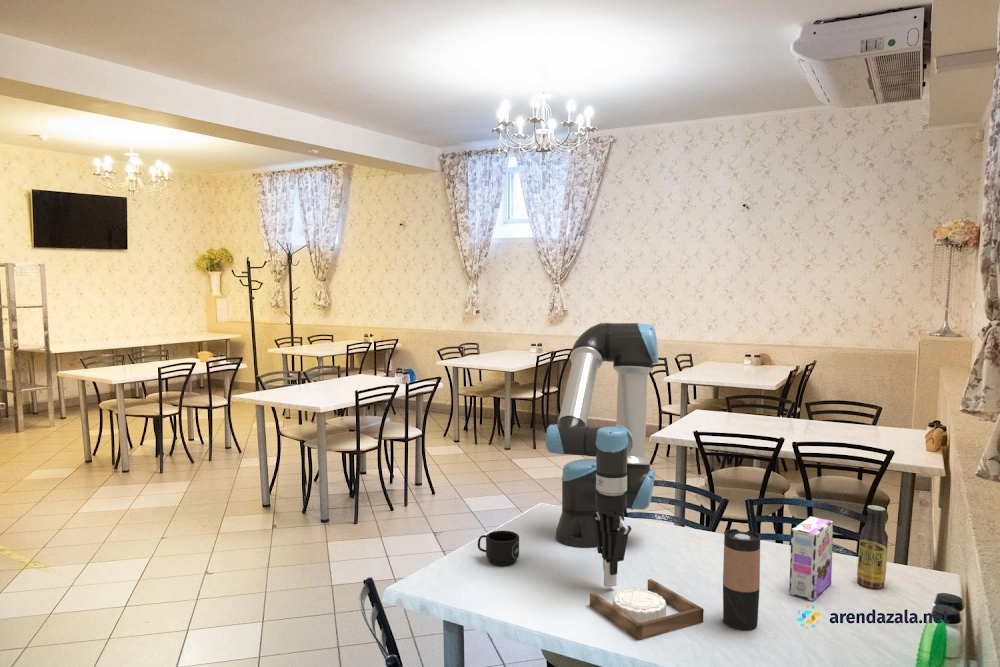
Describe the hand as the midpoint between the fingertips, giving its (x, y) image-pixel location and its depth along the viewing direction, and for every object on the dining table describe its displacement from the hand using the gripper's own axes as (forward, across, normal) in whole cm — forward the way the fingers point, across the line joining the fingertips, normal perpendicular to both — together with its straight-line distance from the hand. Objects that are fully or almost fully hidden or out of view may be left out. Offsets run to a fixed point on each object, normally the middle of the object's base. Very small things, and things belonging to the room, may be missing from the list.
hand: (610, 585), depth 169 cm
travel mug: (+1, +27, +15) cm, 31 cm away
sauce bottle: (+2, +28, +60) cm, 66 cm away
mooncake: (+2, +13, -1) cm, 13 cm away
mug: (+2, -29, -16) cm, 33 cm away
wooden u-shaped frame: (+1, +14, 0) cm, 14 cm away
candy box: (+2, +22, +44) cm, 50 cm away
